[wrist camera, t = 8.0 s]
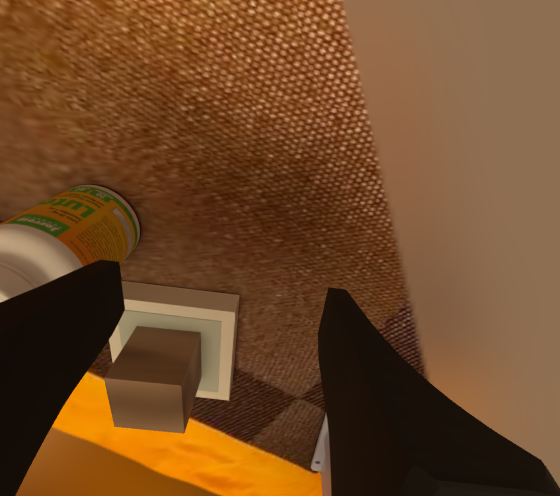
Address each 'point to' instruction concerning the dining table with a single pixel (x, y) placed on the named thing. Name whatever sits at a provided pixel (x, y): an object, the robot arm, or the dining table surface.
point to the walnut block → (155, 379)
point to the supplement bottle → (64, 237)
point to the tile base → (186, 327)
